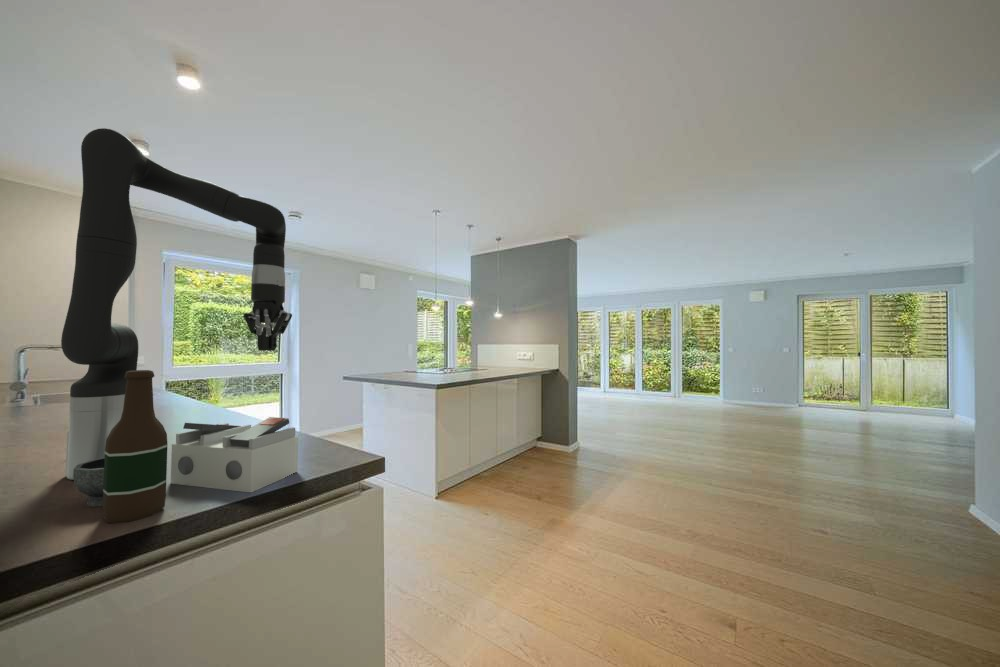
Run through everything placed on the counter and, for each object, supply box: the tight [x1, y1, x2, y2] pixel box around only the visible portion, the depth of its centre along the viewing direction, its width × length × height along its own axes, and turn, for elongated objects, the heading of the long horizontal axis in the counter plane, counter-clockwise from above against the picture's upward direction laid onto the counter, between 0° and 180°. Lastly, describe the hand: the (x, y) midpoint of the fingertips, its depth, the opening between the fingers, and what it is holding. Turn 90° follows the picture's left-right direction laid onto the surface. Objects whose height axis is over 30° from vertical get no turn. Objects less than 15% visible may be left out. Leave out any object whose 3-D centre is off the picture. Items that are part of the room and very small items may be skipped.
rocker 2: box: [230, 416, 290, 446], centre depth 80 cm, size 5×10×1 cm, turn 167°
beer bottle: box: [102, 369, 168, 524], centre depth 64 cm, size 8×8×24 cm
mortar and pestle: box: [73, 458, 104, 508], centre depth 70 cm, size 11×9×12 cm
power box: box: [170, 422, 299, 493], centre depth 81 cm, size 20×12×10 cm, turn 77°
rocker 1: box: [183, 422, 242, 431], centre depth 82 cm, size 5×10×1 cm, turn 167°
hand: (267, 350), depth 98 cm, fingers closed
